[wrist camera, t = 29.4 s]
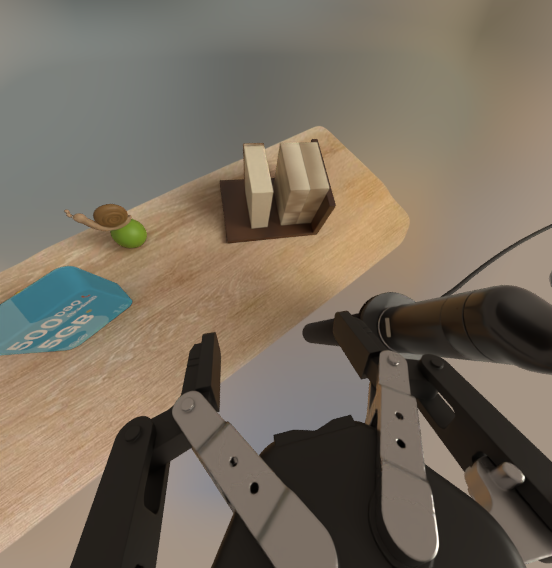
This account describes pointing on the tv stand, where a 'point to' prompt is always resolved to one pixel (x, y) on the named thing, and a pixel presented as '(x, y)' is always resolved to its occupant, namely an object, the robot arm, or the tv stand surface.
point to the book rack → (284, 197)
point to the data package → (59, 311)
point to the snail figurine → (115, 225)
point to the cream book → (257, 184)
